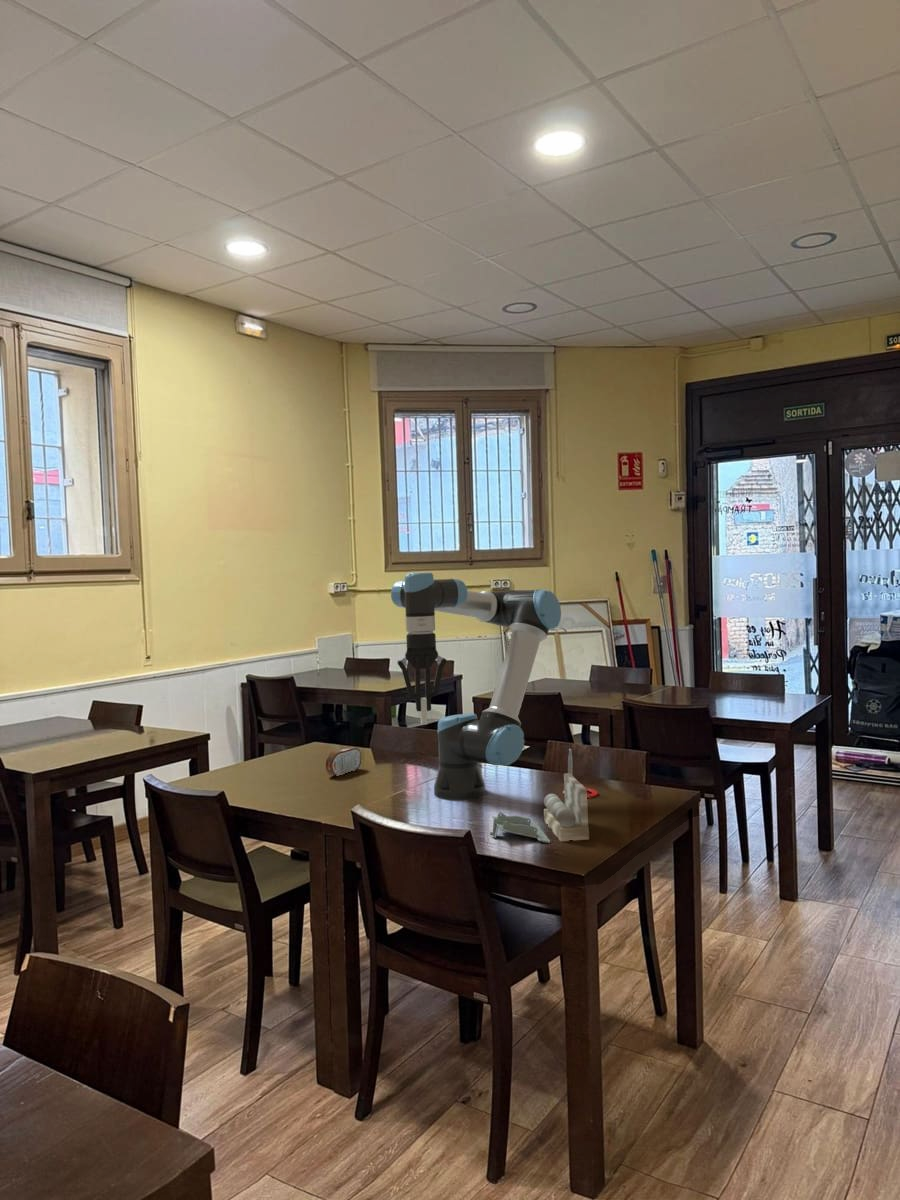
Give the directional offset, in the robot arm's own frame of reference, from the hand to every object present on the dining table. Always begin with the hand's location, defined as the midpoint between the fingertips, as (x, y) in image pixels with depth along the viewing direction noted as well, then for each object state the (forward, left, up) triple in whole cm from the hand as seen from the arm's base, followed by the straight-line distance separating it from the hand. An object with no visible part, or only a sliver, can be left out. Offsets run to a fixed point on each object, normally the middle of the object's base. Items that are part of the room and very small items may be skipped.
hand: (424, 723), depth 212 cm
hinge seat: (+12, +34, -26) cm, 44 cm away
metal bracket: (+14, +21, -27) cm, 37 cm away
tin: (-61, -22, -27) cm, 70 cm away
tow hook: (-18, +46, -27) cm, 56 cm away
